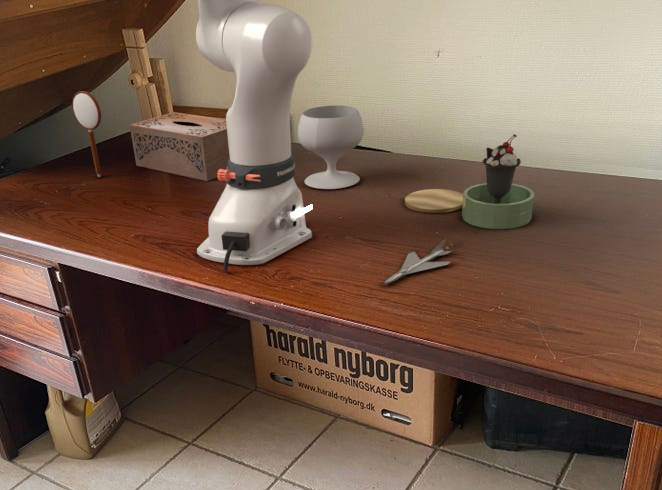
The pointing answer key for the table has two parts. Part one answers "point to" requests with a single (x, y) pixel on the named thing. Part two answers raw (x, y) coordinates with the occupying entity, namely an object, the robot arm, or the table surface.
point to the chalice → (331, 141)
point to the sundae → (500, 169)
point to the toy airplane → (420, 263)
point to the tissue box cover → (182, 145)
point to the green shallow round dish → (497, 207)
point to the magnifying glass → (88, 119)
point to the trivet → (434, 201)
